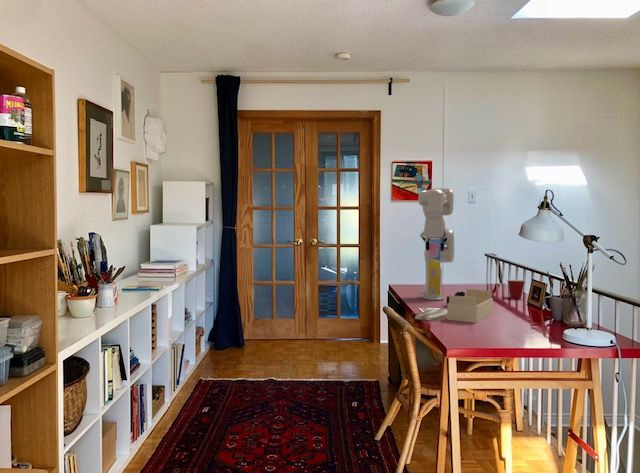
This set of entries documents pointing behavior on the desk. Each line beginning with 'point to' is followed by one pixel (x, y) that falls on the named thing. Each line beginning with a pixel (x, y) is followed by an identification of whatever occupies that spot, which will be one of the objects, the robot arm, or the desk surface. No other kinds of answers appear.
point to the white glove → (432, 315)
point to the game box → (434, 266)
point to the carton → (470, 306)
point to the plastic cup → (516, 288)
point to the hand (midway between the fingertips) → (434, 250)
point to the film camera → (456, 295)
